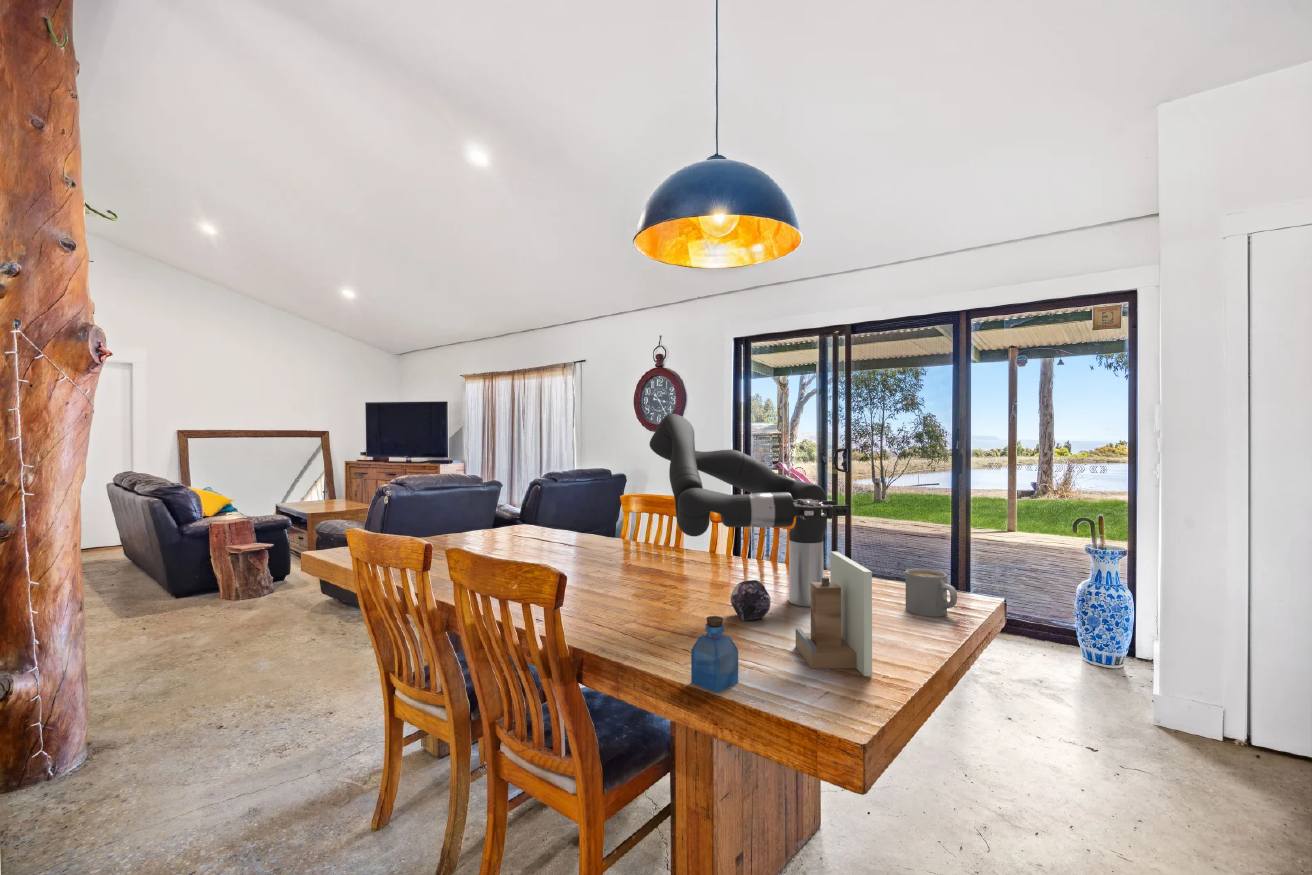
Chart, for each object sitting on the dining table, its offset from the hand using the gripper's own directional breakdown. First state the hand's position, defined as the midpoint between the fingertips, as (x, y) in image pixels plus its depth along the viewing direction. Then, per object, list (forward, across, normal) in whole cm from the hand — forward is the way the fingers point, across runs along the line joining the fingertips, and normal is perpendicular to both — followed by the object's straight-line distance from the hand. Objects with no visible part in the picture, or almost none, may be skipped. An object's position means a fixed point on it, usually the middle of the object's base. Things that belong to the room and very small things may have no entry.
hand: (842, 507), depth 128 cm
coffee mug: (+31, +24, +31) cm, 50 cm away
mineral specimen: (-17, +21, +30) cm, 41 cm away
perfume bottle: (-31, -17, +30) cm, 47 cm away
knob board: (-6, -6, +27) cm, 29 cm away
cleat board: (-6, -6, +30) cm, 31 cm away
